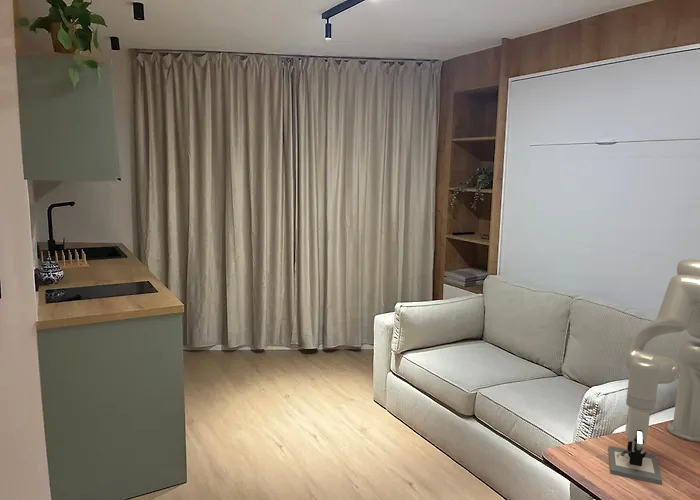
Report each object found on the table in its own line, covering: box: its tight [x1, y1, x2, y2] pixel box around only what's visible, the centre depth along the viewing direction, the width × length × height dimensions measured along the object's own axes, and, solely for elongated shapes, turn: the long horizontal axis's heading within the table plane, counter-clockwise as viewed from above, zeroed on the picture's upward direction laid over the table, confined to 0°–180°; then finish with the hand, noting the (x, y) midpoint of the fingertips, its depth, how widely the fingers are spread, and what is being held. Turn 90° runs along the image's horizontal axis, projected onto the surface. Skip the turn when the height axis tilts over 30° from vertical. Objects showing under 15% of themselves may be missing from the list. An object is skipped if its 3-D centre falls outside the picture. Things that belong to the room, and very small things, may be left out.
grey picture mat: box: [607, 445, 663, 486], centre depth 167 cm, size 16×13×1 cm
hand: (634, 457), depth 167 cm, fingers open, 8 cm apart
